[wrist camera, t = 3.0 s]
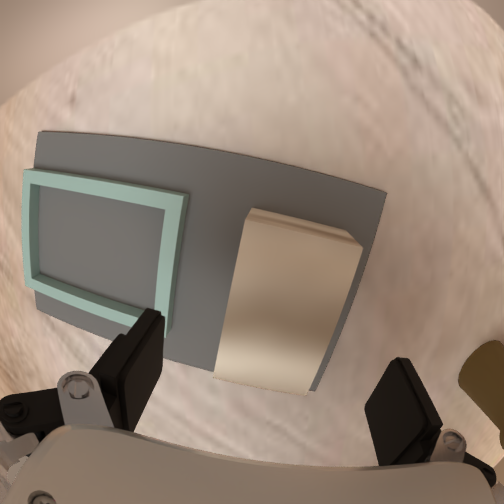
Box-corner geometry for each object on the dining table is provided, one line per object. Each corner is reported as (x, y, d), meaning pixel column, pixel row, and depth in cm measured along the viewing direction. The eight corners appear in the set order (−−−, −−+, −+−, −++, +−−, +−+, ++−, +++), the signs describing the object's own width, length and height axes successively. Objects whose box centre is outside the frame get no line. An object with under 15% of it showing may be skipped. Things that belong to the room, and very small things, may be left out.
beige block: (252, 207, 18) (245, 219, 14) (346, 230, 18) (363, 247, 14) (223, 343, 21) (212, 377, 17) (302, 359, 21) (306, 395, 17)
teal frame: (189, 194, 18) (183, 196, 17) (170, 329, 21) (165, 337, 20) (33, 168, 18) (23, 169, 17) (33, 280, 21) (25, 285, 20)
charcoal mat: (384, 192, 17) (387, 192, 17) (314, 388, 22) (315, 391, 22) (41, 131, 18) (38, 131, 18) (39, 307, 23) (36, 309, 22)
